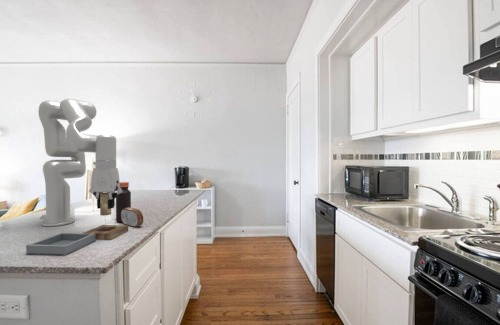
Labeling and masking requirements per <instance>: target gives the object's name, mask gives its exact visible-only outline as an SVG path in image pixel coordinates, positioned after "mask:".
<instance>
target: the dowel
mask: <svg viewBox="0 0 500 325" xmlns="http://www.w3.org/2000/svg"><path fill="white" fill-rule="evenodd" d="M108 199H109V193H108V192H103V193H100V209H99V210H100V211H99V212H100V213H99V214H100V216H101V217H102V216H103V217H104V216H110V215H112V208H111V209H108Z"/></svg>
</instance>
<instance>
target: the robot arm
mask: <svg viewBox="0 0 500 325" xmlns="http://www.w3.org/2000/svg"><path fill="white" fill-rule="evenodd" d="M37 111H38V117H39V120H40V122H41V126H42V128H43V137H44V147H45V148H44V150H45V152H46V155H47V156H49V157H52V158H70V159H50V160H47V161H45V162H44V164H43V165H42V172H43V177H44V184H45V214H42V215H41V216H40V217H39V220H43V222H41V226H42V227H59V226H60V227H61V226H64V225H69V224H71V223H74V222H75V219H74V218H73V217H71V187H70V185H69V183H68V182H67V181H66V180H65V179H77V178H78V179H79V178H82V177H83V176H85V174H86V171H87V168H86V166H87V165H86V153H94V154H95V161H93V166H95V167H93V168H92V172H91V178H90V179H91V180H90V189H89V191H88V192H89V193H91V194H92V195H93V197H95V199H96V206H97V209H98V210H100V193H106V192H108V193H109V199H108V209H111V210H112V209H114V208H115V207H116V197H117V196H118V195H119V194H120V193H122V192H123V191H122V189H121V188H120V174H119V168H118V167H117V138H116V136H114V135H109V134H99V135H95V134H85V133H81V132H84V131H87V130H89V129H90V128H91V127H92V124H93V119H95V118H96V116H97V108H96V106H95V105H94V103H91V102H90V101H84V100H78V99H75V98H65V99H63V100H61V101H57V100H56V101H55V100H44V101H42V102H41V103H40V104H39V107H38V110H37ZM59 120H63V121H67V122H68V125H67V127H66V129H65V127H64V126H63V124H62V123H61V122H60V121H59Z"/></svg>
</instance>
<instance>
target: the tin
mask: <svg viewBox="0 0 500 325" xmlns="http://www.w3.org/2000/svg"><path fill="white" fill-rule="evenodd" d="M121 220H122V222H123V223H122V224H124V225H128V227H133V228H137V227H141V226H142V225H143V223H144V215H143V213H142V211H141V210H140V209H139V208H134V207H131V208H130V207H127V208H124V209H122V211H121Z"/></svg>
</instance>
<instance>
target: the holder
mask: <svg viewBox="0 0 500 325" xmlns="http://www.w3.org/2000/svg"><path fill="white" fill-rule="evenodd" d="M127 232H128V233H129V226H128V225H125V224H124V225H121V224H120V225H119V224H118V225H117V224H115V225H114V224H102V225H99V226H96V227H94V228H91V229H89V230H87V231H84V232H83V233H89V234H96V241H97V240H98V241H99V240H101V241H102V240H104V241H112V240H114V239H116V238H118V237H120V236H122V235H124V234H125V233H127Z"/></svg>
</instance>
